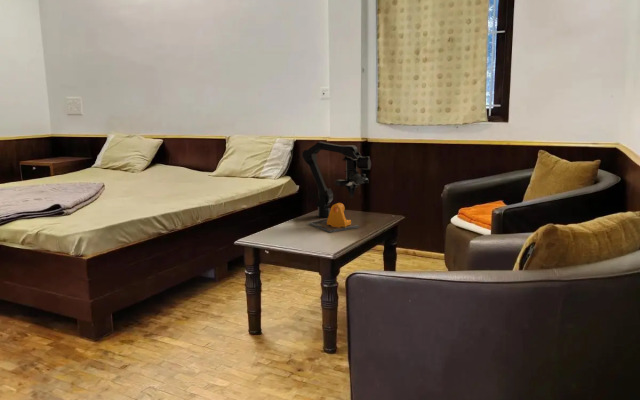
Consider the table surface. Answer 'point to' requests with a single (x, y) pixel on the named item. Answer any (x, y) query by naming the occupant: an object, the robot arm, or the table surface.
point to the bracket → (337, 216)
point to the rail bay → (329, 229)
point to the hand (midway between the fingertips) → (351, 197)
